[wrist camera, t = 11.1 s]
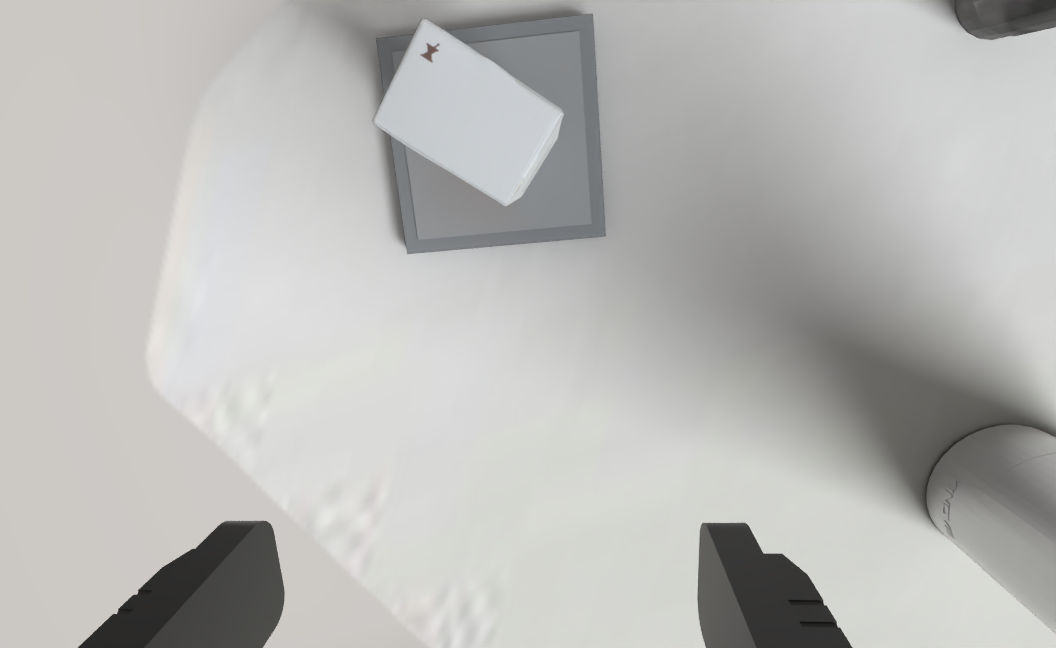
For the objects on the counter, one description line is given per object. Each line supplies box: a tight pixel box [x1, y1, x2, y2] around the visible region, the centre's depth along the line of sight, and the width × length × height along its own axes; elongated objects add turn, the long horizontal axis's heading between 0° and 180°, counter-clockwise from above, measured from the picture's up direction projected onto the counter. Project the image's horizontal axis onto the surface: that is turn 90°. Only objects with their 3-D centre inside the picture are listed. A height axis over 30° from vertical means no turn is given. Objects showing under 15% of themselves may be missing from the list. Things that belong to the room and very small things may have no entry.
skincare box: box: [373, 18, 564, 206], centre depth 26 cm, size 6×4×12 cm
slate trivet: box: [376, 14, 606, 254], centre depth 32 cm, size 12×12×1 cm
